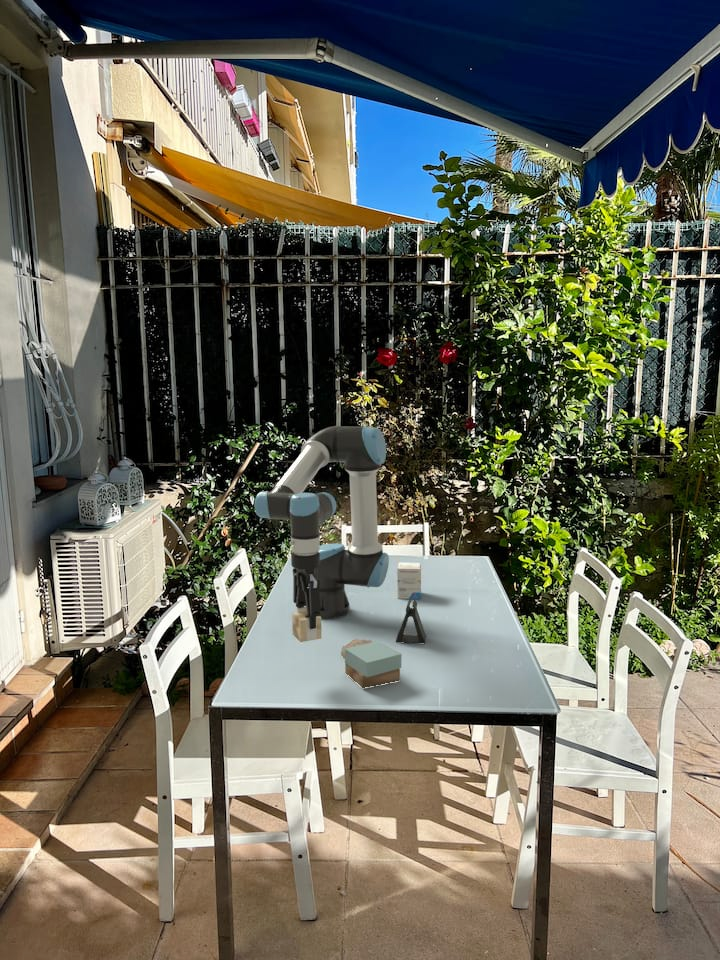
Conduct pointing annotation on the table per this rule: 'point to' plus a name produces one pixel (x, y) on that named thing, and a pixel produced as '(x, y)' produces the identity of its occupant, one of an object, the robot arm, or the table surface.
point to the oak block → (303, 626)
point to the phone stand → (418, 625)
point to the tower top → (373, 658)
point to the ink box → (409, 580)
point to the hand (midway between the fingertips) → (306, 634)
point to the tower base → (372, 677)
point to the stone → (354, 644)
